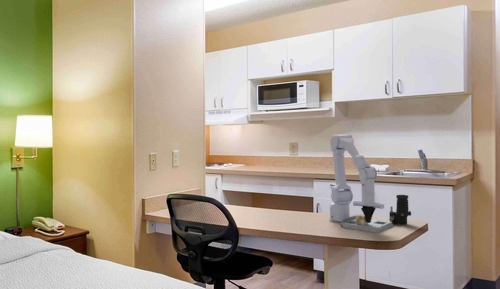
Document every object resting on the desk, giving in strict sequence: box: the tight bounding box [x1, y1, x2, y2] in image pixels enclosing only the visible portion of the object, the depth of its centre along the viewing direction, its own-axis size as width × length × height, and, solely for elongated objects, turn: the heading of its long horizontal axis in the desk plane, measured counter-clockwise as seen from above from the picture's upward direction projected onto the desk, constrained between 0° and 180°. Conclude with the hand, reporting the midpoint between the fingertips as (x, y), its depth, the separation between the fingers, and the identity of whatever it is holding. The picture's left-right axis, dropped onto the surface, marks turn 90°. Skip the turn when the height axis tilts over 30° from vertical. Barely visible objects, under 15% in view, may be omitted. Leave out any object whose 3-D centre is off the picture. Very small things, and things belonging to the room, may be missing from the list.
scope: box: [388, 194, 412, 226], centre depth 200 cm, size 8×14×10 cm
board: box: [340, 214, 393, 234], centre depth 196 cm, size 18×16×4 cm
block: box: [355, 214, 368, 225], centre depth 193 cm, size 4×4×4 cm
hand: (368, 222), depth 190 cm, fingers closed
